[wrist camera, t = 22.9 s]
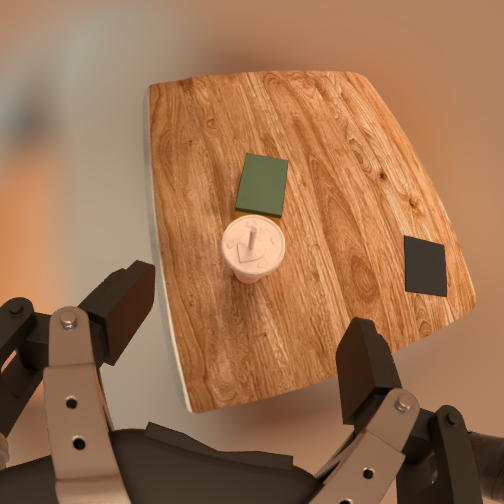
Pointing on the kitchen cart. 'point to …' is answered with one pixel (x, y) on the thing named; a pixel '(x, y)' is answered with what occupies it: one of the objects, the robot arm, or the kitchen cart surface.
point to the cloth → (425, 267)
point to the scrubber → (262, 187)
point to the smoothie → (253, 247)
